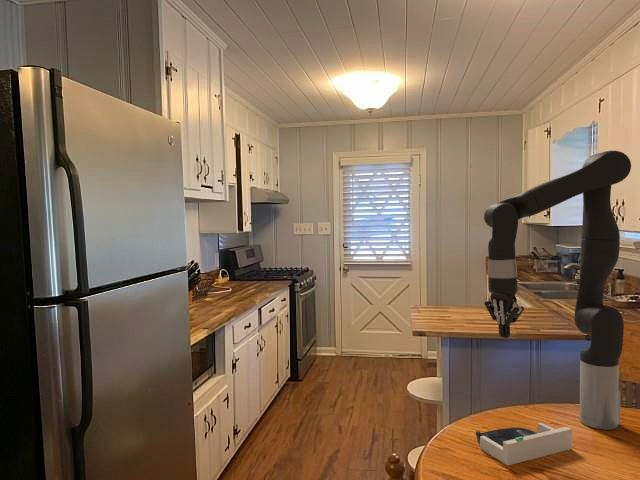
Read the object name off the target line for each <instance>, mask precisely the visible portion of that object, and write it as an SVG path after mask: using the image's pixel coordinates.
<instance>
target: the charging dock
mask: <svg viewBox="0 0 640 480" xmlns="http://www.w3.org/2000/svg"><path fill="white" fill-rule="evenodd" d="M572 430H573V429H572V428H570V427H568V426H563V427H559V428H553V427H552V426H549V425H547V424H544V422H538V423H537V433H538V434H533V435H529V436H525V437H522V436H521V437H517V438H515V439H512V440H508V441H504V442H503V447H502V446H501V445H499V444H497V443H496V442H494V441H492V440H490V439H489V438H487V437H485V436H480V441H479V449H480V450H482V451H483V452H486V453H487V454H488V455H489V456H492V457H493V458H495V459H497V460H498V461H499V462H501V463H502V464H505V465H506V466H512V465H515V464H519V463H522V462H527V461H530V460H531V461H532V460H534V459H539V458H542V457H545V456H550V455H553V454H558V453H562V452H565V451H569V450H572V439H573V438H572V435H573V434H572Z"/></svg>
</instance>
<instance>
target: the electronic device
mask: <svg viewBox="0 0 640 480" xmlns="http://www.w3.org/2000/svg"><path fill="white" fill-rule="evenodd" d="M533 434H538V431H537V432H536V431H533V430H531V429H529V428H528V429H527V428H524V427H516V426H515V427H505V428H499V429H492V430H487V431H485V432H481V431H480V430H476V431H475V436H476V440H477V442H480V436H485V437H487V438H489V439H490V440H492V441H494V442H496V443H497V444H499V445H501V446H502V447H503V442H504V441H508V440H512V439H515V438H517V437H521V436H522V437H525V436H529V435H533Z"/></svg>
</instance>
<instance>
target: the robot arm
mask: <svg viewBox="0 0 640 480" xmlns="http://www.w3.org/2000/svg"><path fill="white" fill-rule="evenodd" d="M631 161H632V160H630V157H629V156H628V155H627V154H626V153H624V152H622V151H619V150H608V151H607V150H606V151H603V152H599V153H596V154H592V155H590V156H589V157H588V158H586V160H584V162H583V164H582V167H581V168H580V169H578V170H575V171H573V172H571V173H568V174H566V175H563V176H560V177H556V178H553V179H552V180H548V181H545V182H544V183H541V184H538V185H535V186H533V187H531V188H529V189H527V190H525V191H523V192H520V193H519V194H517V195H515V196H512V197H509V198H506V199H503V200H501V201H498V202H496V203H493V204H492V205H490V206H488V207H487V209H486V210H485V211H484V213H483V214H484V215H483V220H484V223H485V224H486V225H487V226H488V227H489V228H492V230H491V232H492V233H491V238H490V239H489V241H488V245H487V249H488V251H487V253H488V254H487V255H488V256H487V257H488V263H487V274H488V275H487V280H488V285H487V286H488V292H489V293H490V297H489V300H488V301H487V300H486V301H485V302H484V306H485V308H486V309H487V311H488V313H489V316H490V317H491V319H492V321H496V322H497V324H498V334H499V337H500V338H503V339H507V338H509V337H510V335H511V324H514V323H517V321H518V320H519V318H520V317H521V315H522V313H523V312H524V309H525V308H524V306H521V305H519V303H518V300H517V296H516V294H517V292H518V271H517V269H518V266H517V262H516V260H517V258H516V240H517V233H518V228H519V220H520V219H524V218H527V217H532V216H536V215H537V214H540V213H542V212H544V211H546V210H549V209H550V208H554V207H555V206H557V205H559V204H562V203H563V202H565V201H567V200H570V199H572V198H574V197H577V196H579V195H581V194H582V202H583V204H582V205H583V206H582V224H581V225H582V226H581V227H582V228H581V241H580V267H579V268H580V269H579V280H578V290H577V296H576V301H575V302H576V303H575V308H574V317H573V318H574V323H575V326H576V329H578V331H579V332H581V333H583V334H585V335H588V336H590V345H589V347H585V348H582V349H581V350H580V351H579V421H580V423H582V424H584V425H585V426H587V427H589V428H594V429H598V430H606V431H608V430H609V431H610V430H615V429H617V428H619V425H620V424H621V390H620V389H619V377H620V376H619V365H620V364H619V361H620V358H621V355H622V353H623V352H622V351H623V345H624V329H625V327H624V326H625V325H624V318H623V315H622V313H621V311H619V310H618V309H617V308H614V307H613V306H609V305H604V290H605V286H606V283H607V280H608V278H609V277H610V275H611V273H612V272H613V270H614V269H615V267H616V265H617V263H618V260H619V256H620V242H621V239H620V238H621V234H620V230H619V229H620V228H619V225H618V223H617V220H616V218H615V216H614V213H613V210H612V205H611V196H612V195H611V193H612V186H613V185H616V184H620V182H622V181H624V180H625V179H627V177H628V176H629V174H630V173H631V169H632V162H631Z"/></svg>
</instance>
